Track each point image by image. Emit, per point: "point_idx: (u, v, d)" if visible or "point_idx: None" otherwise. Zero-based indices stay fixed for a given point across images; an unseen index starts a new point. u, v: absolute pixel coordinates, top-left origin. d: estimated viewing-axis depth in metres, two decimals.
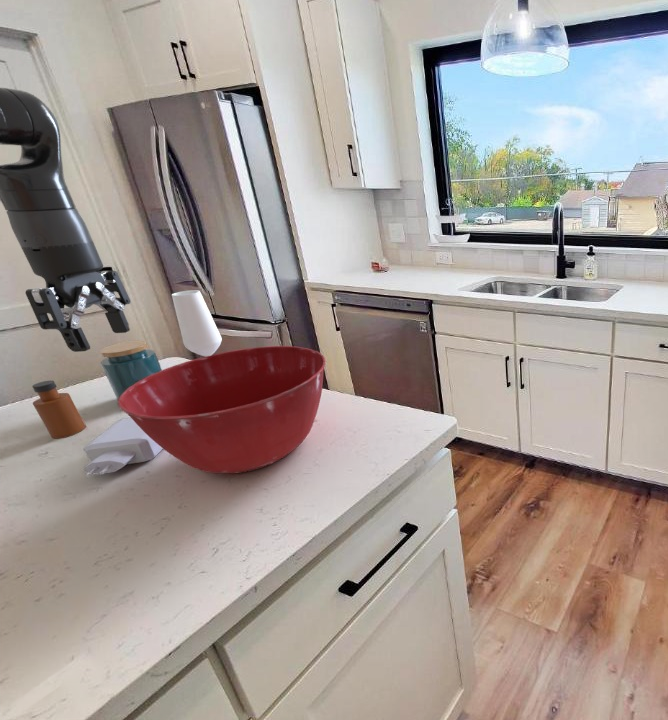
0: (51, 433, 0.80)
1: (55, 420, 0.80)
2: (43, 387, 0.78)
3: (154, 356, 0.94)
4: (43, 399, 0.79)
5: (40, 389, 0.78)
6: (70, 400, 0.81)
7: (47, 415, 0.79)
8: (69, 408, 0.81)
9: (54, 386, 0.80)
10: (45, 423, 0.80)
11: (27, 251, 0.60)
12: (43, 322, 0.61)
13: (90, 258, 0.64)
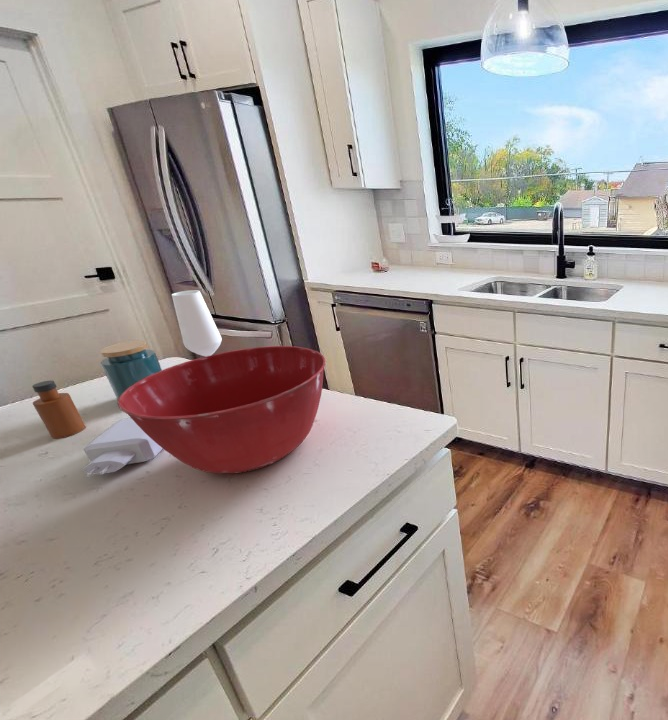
0: (51, 433, 0.80)
1: (55, 420, 0.80)
2: (43, 387, 0.78)
3: (154, 356, 0.94)
4: (43, 399, 0.79)
5: (40, 389, 0.78)
6: (70, 400, 0.81)
7: (47, 415, 0.79)
8: (69, 408, 0.81)
9: (54, 386, 0.80)
10: (45, 423, 0.80)
11: None
12: None
13: None
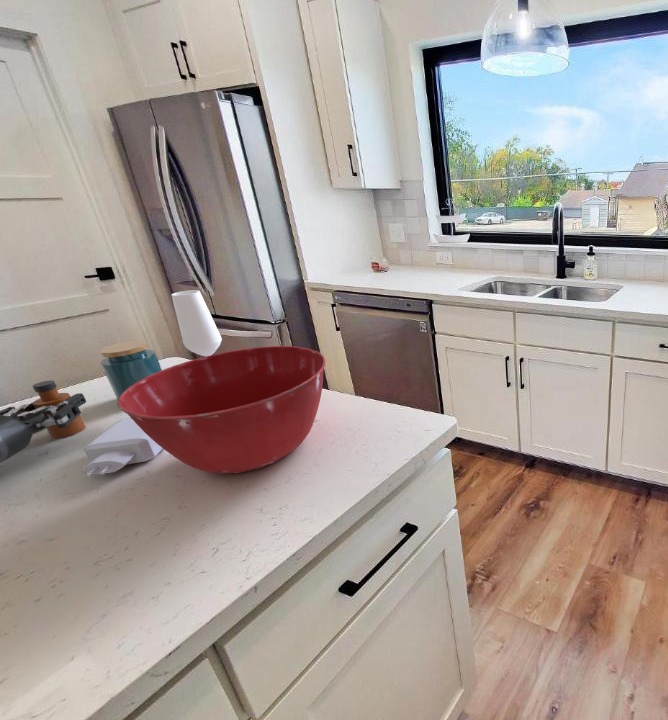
0: (51, 433, 0.80)
1: None
2: (43, 387, 0.78)
3: (154, 356, 0.94)
4: (43, 399, 0.79)
5: (40, 389, 0.78)
6: None
7: (47, 415, 0.79)
8: None
9: (54, 386, 0.80)
10: None
11: None
12: None
13: None
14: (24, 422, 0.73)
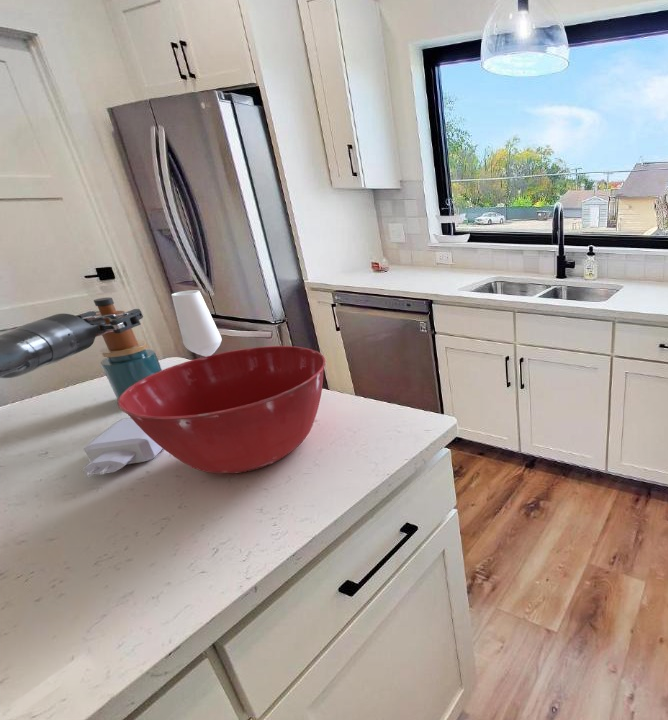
0: (109, 345, 0.89)
1: (113, 333, 0.88)
2: (103, 301, 0.86)
3: (154, 356, 0.94)
4: (103, 313, 0.87)
5: (100, 303, 0.86)
6: None
7: None
8: None
9: (112, 302, 0.88)
10: (104, 335, 0.88)
11: None
12: None
13: None
14: (89, 323, 0.81)
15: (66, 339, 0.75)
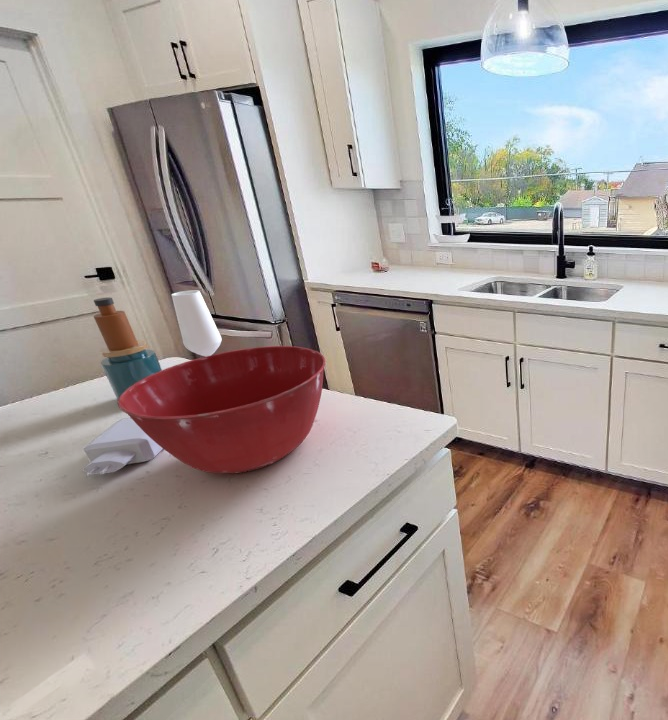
0: (109, 345, 0.89)
1: (113, 333, 0.88)
2: (103, 301, 0.86)
3: (154, 356, 0.94)
4: (103, 313, 0.87)
5: (100, 303, 0.86)
6: (125, 316, 0.90)
7: (106, 327, 0.87)
8: (125, 324, 0.90)
9: (112, 302, 0.88)
10: (104, 335, 0.88)
11: None
12: None
13: None
14: None
15: None
